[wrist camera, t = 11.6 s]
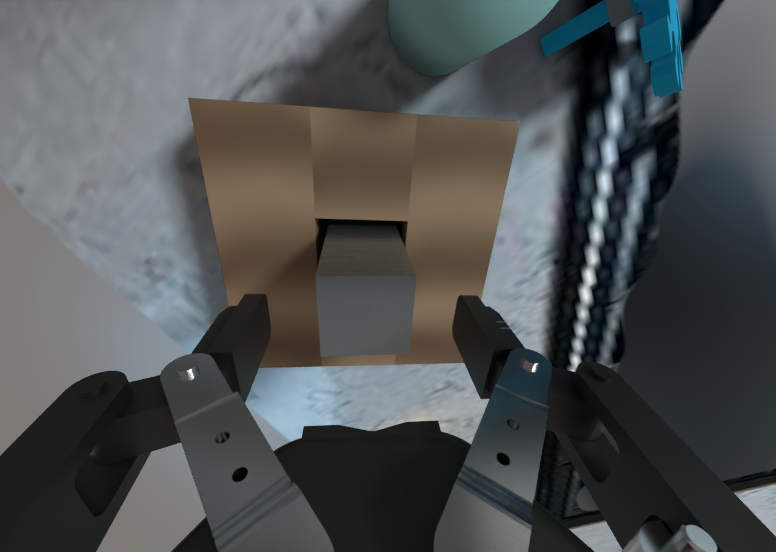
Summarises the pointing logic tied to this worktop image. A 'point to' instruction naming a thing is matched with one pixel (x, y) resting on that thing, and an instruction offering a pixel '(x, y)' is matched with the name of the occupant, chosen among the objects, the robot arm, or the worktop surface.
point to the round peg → (457, 29)
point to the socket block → (350, 209)
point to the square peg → (364, 290)
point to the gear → (655, 37)
